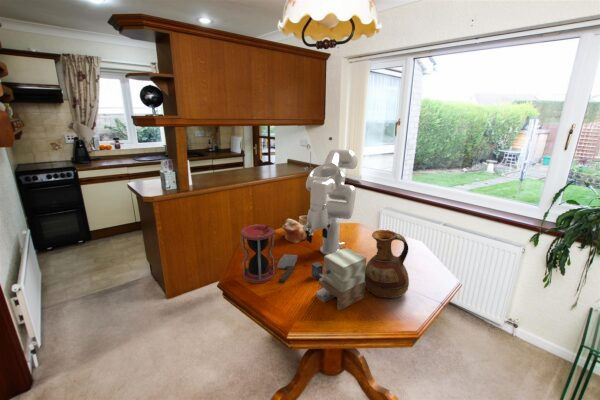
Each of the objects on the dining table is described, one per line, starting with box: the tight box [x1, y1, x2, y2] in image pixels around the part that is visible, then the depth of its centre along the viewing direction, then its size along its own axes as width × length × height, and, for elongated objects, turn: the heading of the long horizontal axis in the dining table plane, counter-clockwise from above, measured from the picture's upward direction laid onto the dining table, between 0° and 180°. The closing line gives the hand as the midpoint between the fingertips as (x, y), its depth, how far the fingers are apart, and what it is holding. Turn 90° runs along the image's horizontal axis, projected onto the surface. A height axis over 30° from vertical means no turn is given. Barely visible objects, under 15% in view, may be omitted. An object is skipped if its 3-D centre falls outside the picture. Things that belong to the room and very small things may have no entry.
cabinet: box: [318, 247, 367, 311], centre depth 130 cm, size 16×14×20 cm
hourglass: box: [240, 223, 276, 284], centre depth 146 cm, size 16×16×25 cm
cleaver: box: [276, 253, 298, 284], centre depth 156 cm, size 30×10×2 cm, turn 171°
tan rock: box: [282, 215, 315, 244], centre depth 192 cm, size 14×26×15 cm, turn 133°
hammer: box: [310, 261, 324, 281], centre depth 140 cm, size 4×22×7 cm, turn 36°
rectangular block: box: [315, 287, 335, 303], centre depth 132 cm, size 6×6×2 cm
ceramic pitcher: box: [365, 229, 410, 299], centre depth 133 cm, size 20×20×30 cm
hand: (317, 239), depth 142 cm, fingers open, 9 cm apart
